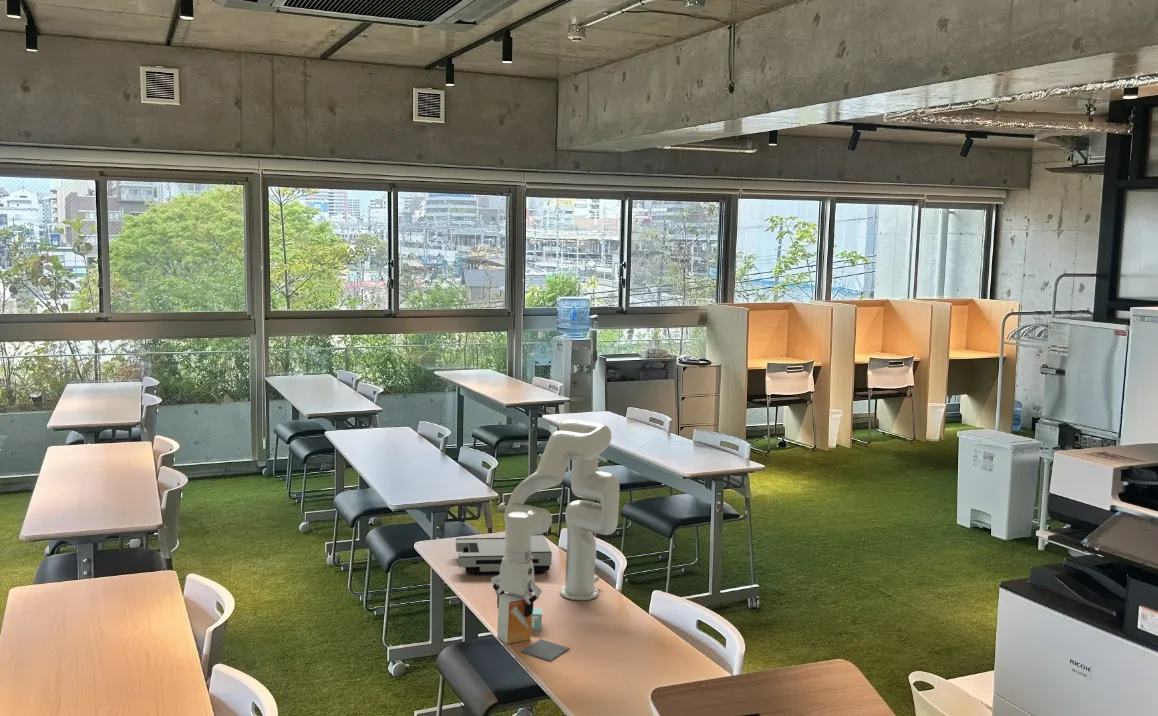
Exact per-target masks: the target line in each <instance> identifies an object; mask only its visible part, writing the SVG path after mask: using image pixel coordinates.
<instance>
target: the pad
mask: <svg viewBox="0 0 1158 716" xmlns="http://www.w3.org/2000/svg"><path fill="white" fill-rule="evenodd" d="M569 650H570V647H568V646H564V645H561V644H557V643H555V642H551V641H548V640H545V639H542V638H540V639H537V640H536V641H535V642H533V643H531V644H529V645H528V646H526V647H525V648H523V649H521V650H520V653H523V654H525V655H529V656H531V657H534V658H538V659H541V660H545V661H547V662H552V661H553V660H555V659H556V658H558V657H560V656H562V654H564V653H566V652H567V651H569Z"/></svg>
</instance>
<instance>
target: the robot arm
mask: <svg viewBox="0 0 1158 716" xmlns="http://www.w3.org/2000/svg"><path fill="white" fill-rule="evenodd" d="M611 441H612V431H611V429H610V427H609V426H607V425H606V424H603V423H598V422H591V421H586V420H582V419H581V420H579V419H570V418H569V419H564V420H562V421H560V424H559V426H558V430H555V431H554V432H552V433H551V435H550V436H549V438H548V441H547V443H546V446H545V448H544V450H543V453H542V455H541V457H540V460H539V462H538V466H537V468H536V470H535V472H534V473H532V474H530V475H529V476H527V477H526V478H524V480H522V481H521V482H520V483H519V484H518V485H517V486H516V487H515V488H514V489H513V491H512V493H511V495H510V497H509V499H508V501H507V504H506V507H505V510H504V514H503V515H504V516H503V517H504V519H503V520H504V523H505V532H504V538H505V551H504V557H503V559H502V562H501V567H500V574H499V575H493V576H492V577H491V578H490V580H491V584H492V587H493V589H494V591H495V595H496V596H497V597H496V599H497V600H496V605H497V606H496V607H497V609H498V607H499V595H501V594H507V593H512V594H516V595H520V596H523V597H524V598H525V600H526V602H527V603H526V604H525V614H524V616H525V617H528V616H530V615H532V613H533V608H534V603H535V602H536V601H537V600H538V599H539V598H540V596H541V594H542V593H543V591H542V589H541V588H540V587H539V586H538V585H536V582H535V574H534V567H533V562H532V560H530V559H533V555H531V551H530V548H531V536H532V535H537V534H544V533H546V532H547V531H548V530H549V529H550V527H551V526H552V523H553V516H552V514H551V513H550V511H549V510H547V509H545V508H542V507H537V506H532V505H528V504H524V503H525V502H526V501H527V499H528V498H529V497H530V496H531V495H533V494H535V493H537V492H539V491H542V490H546V489H550V488H553V487H556V486H559V485H560V484H561V483H562V482H563V479H564V477H565V476H566V475H565V474H566V472H567V469H568V467H569V464H570V462H571V477H570V478H571V483H570V484H571V486H570V487H571V491H572V493H573V495H574V496H576V497H578V498H582V499H588V500H593V501H594V502H593V501H588V500H582V499H577V500H573V501H570V502H569V503H568V504H567V506H566V509H565V517H564V518H565V523H566V531H567V532H566V534H567V535H566V540H567V541H566V560H565V561H566V562H565V578H564V580H565V582H564V585H563V586H561V587H560V589H559V591H560V592H559V593H560V595H561V596H562V597H564V598H565V599H569V600H572V601H588V600H593V599H596V598H597V597H598V595H599V590H598V589H597V587H595V584H596V583H597V582H599V580H600V577H599V575H595V568H596V552H597V551H596V550H597V549H596V548H597V542H596V539H595V536H594V534H599V535H604V536H609V535H612V534H614V533H615V532H616V530H617V527H618V523H619V509H620V507H619V506H620V483H619V479H618V477H617V476H616V475H615V474H613V473H611V472H608V471H607V472H606V471H600V470H599V455H600V454H601V453H603V452H604V451H605V450H607V449H608V447H609V446H610V444H611ZM595 501H597V502H599V503H597V502H595ZM528 596H529V597H530V598H529V597H528Z"/></svg>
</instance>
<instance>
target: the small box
mask: <svg viewBox="0 0 1158 716" xmlns="http://www.w3.org/2000/svg"><path fill="white" fill-rule="evenodd" d="M528 597H529V596H528ZM529 598H530V597H529ZM526 603H527V602H526V600H525V598H524V597H523V596H520V595H516V594H512V593H509V592H506V594H501V595H499V607H498V608H497V609H498V612H497V633H496V634H497V636H496V637H497V638H499V640H501V641H503V642H504V643H505V644H506V645H510V644H513V643H519V642H523V641H529V640H531V636H532V635H531V634H532V630H531V620H532V615H530V616H528V617H525V616H524V614H525V604H526Z"/></svg>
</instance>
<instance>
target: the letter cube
mask: <svg viewBox="0 0 1158 716" xmlns="http://www.w3.org/2000/svg"><path fill="white" fill-rule="evenodd" d="M542 619H543V608H542V607H533V613H532V620H531V631H534V630H535V631H536V630H537V631H541V630H542Z"/></svg>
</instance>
